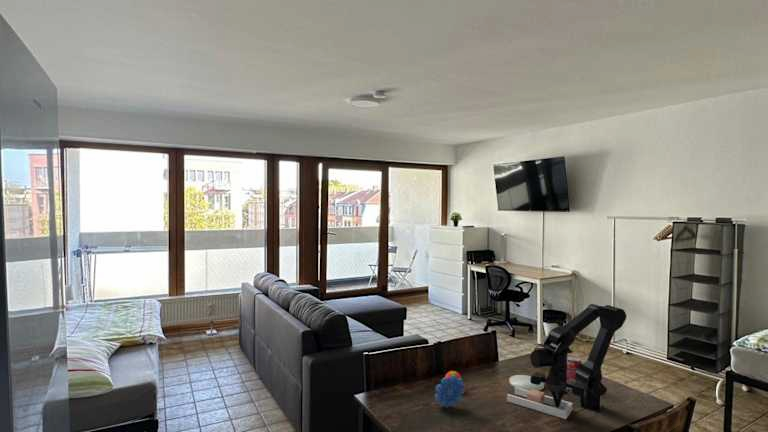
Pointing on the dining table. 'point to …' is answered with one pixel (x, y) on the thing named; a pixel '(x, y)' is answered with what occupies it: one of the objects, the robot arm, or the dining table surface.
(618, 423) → the dining table surface
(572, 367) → the soda can
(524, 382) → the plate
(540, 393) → the block
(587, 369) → the robot arm
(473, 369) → the dining table surface
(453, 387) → the grapes
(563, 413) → the channel
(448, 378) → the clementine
